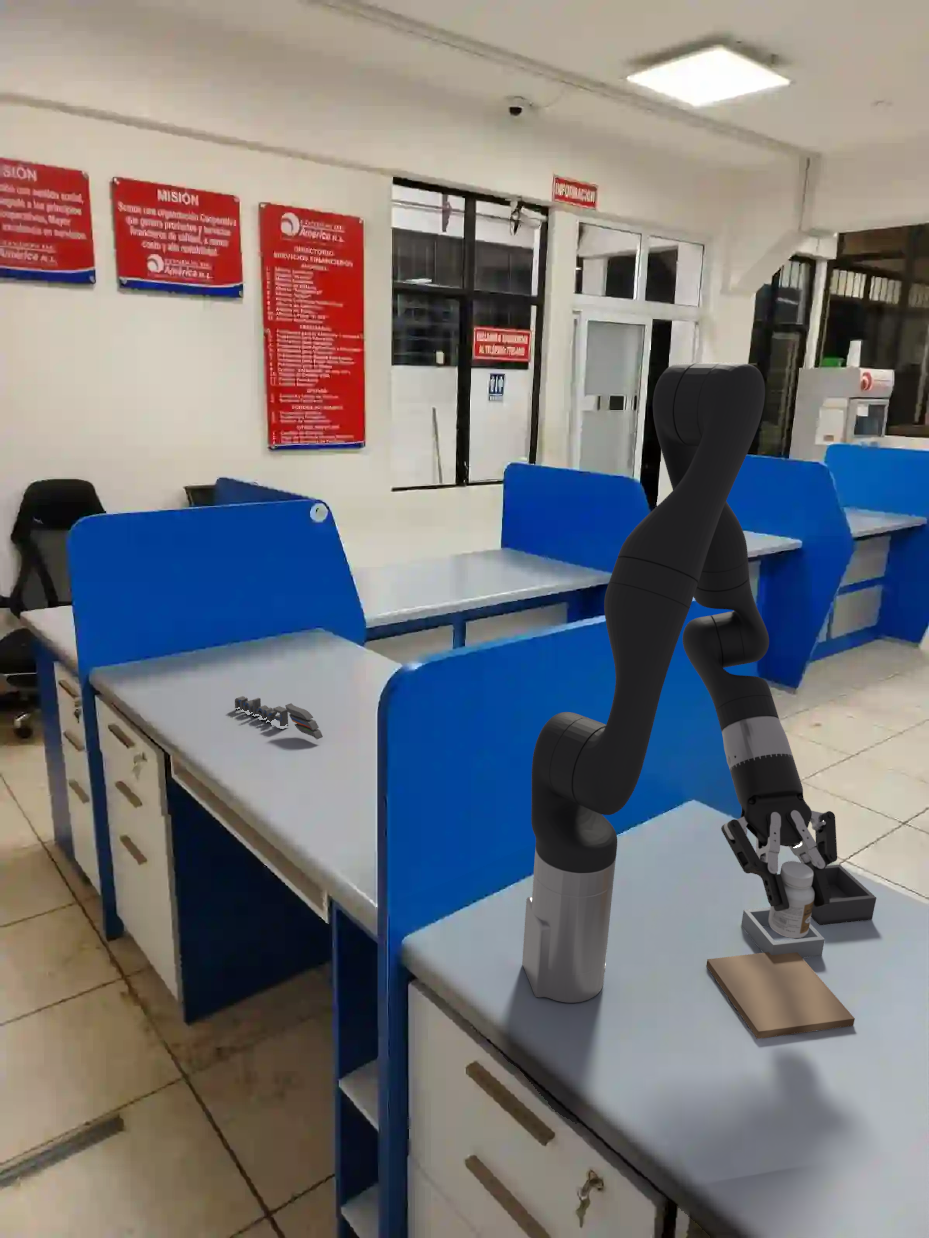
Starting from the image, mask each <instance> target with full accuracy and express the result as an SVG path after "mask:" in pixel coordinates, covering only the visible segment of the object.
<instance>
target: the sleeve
mask: <svg viewBox="0 0 929 1238" xmlns="http://www.w3.org/2000/svg"><path fill="white" fill-rule="evenodd" d="M770 907H771V906H767V907H759V908H748V909H743V911H742V912H743V913H742V917H741V924H740V926H741V928H742V929H743V930H744V931H745V933H746V934H747V935H748V936H749V938H750V939H751V940H752V941H753V942H754V943H755V945H756V946H757V947H758V949H759V950H760V951H761V953H766V952H769V953H770V954H771V955H778V954H787V953H795V952H798V954H799V955H800V956H801V957H802V958H803V959H807V958H816V957H822V956H823V952H824V951H823V950H824V946H825V940H826V939H825V938H824V936H822V934H820V932H818V930H817V929H816V928H815V927H814V926H813V925H812V924H811V923H810V925H809V931H808V933H807V934H806V935H805V936H803V937H800V938H792V939H786V940H778V941H776V940H775V939H774V938H773V937H772V936H771V935H770V934H769V933H768V931H767V930H766V929H765V928H764V927H771V926H770V925H769V913H770Z"/></svg>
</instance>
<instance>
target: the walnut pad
mask: <svg viewBox="0 0 929 1238" xmlns="http://www.w3.org/2000/svg"><path fill="white" fill-rule="evenodd" d="M706 968H707V969H708V970H709V972H710V974H711V975H712V976H713V978H714V979H715V981H716V982H717V983H718V984H719V986H720V988H721V989H722V990H723V992H724V993H725V995H726V996H727V998H728V999H729V1001H730V1002H731V1003H732V1005H733V1006H734V1008H735V1009H736V1011H737V1012H738V1014H739V1015H740V1016H741V1017H742V1019H743V1020H744V1022H745V1023H746V1025H747V1026H748V1028H749V1029H750V1031H751V1032H752V1033H753V1035H754V1036H755V1037H756V1039H757V1040H761V1039H766V1038H772V1037H773V1038H775V1037H780V1036H788V1035H789V1036H790V1035H796V1034H802V1033H810V1032H817V1031H816V1030H819V1031H826V1030H833V1029H838V1028H839V1029H840V1028H847V1027H853V1026H854V1024H855V1020H856V1017H854V1016H853V1014H852V1013H850V1011H849V1009H847V1007H845V1005H844V1004H843V1003H842V1002H841V1001H840V1000H839V998H838V997H837V996H836V995H835V993H833V991H832V990H831V989H830V988H829V987H828V986H827V985H826V983H825V982H824V981H823V980H822V979H821V977H820V976H818V974H817V973H816V972H815V971H814V970H813V968H812V967H811V966H810V965H809V964H808V963H807V961H805V958H802V957H801V956H800V955H799V954H798V952H795V953H787V954H778V955H771V954H770V953H769V952H766V953H763V952H758V953H750V954H743V955H742V954H741V955H734V956H733V955H732V956H724V957H715V958H707V959H706ZM832 1028H833V1029H832Z"/></svg>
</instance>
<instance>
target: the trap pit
mask: <svg viewBox="0 0 929 1238" xmlns="http://www.w3.org/2000/svg"><path fill="white" fill-rule="evenodd" d="M824 871H825V875H826V878H827V881H828V885H829V889H830V891H831V899H829V900H830V903H829V904H828V905H825V906H821V907H816V906H815V905H814V902H813V908H812V913H811V919H813V920H814V922H815V923H816V924H817V925H818V926H819V927H821V926H829V925H830V926H831V925H836V924H837V925H838V924H845V923H847V924H848V923H856V922H867V921H873V916H874V912H875V907H876V902H877V897H876V896H875V894H873V893H872V892H871V891H870V890H869V889H867V888H866V887H865V886H864V884H862V883H861V882H860V881H858V879H856V878H855V877H854V876H853V875H852V874H851V873H850V872H849V871H848V870H846V868H844V867H843V866H842V865H841V864H829V865H827V866H826V867H825V870H824Z"/></svg>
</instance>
